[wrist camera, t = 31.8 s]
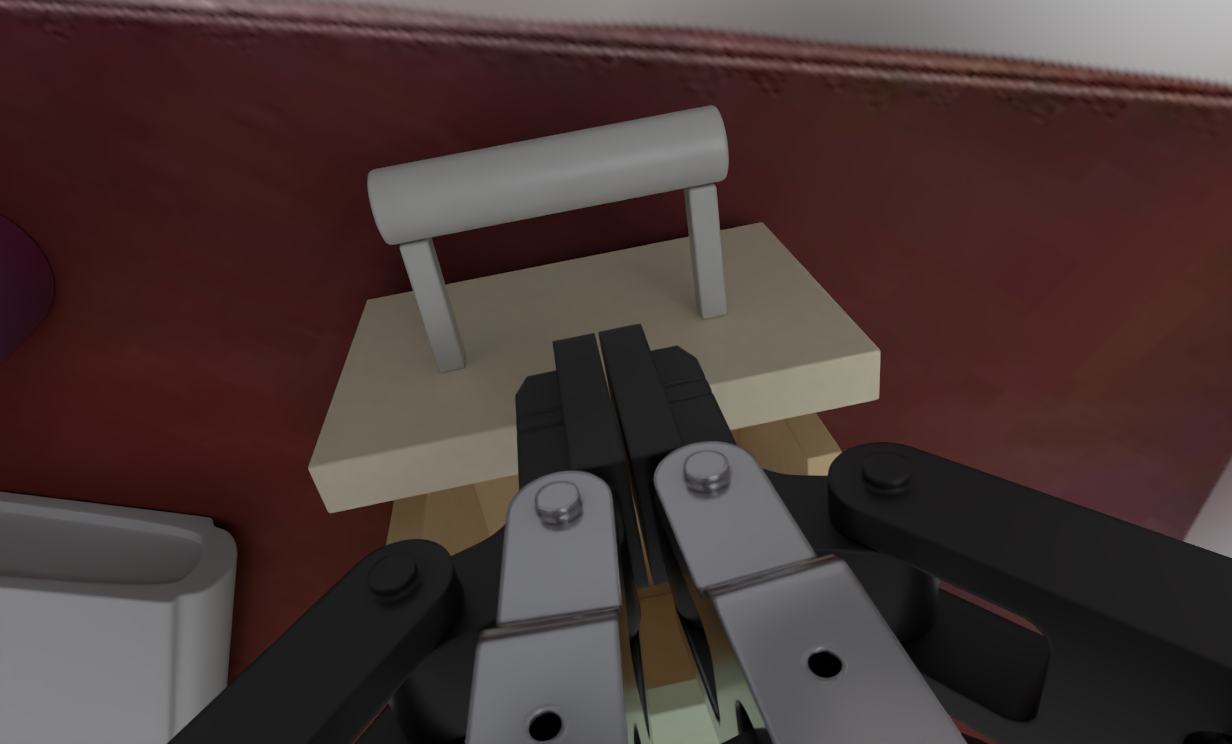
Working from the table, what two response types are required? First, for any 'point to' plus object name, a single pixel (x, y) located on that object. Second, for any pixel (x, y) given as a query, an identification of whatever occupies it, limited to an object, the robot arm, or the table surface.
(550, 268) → the drawer
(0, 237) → the cup
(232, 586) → the book
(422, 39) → the table surface
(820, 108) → the table surface
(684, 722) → the cabinet
